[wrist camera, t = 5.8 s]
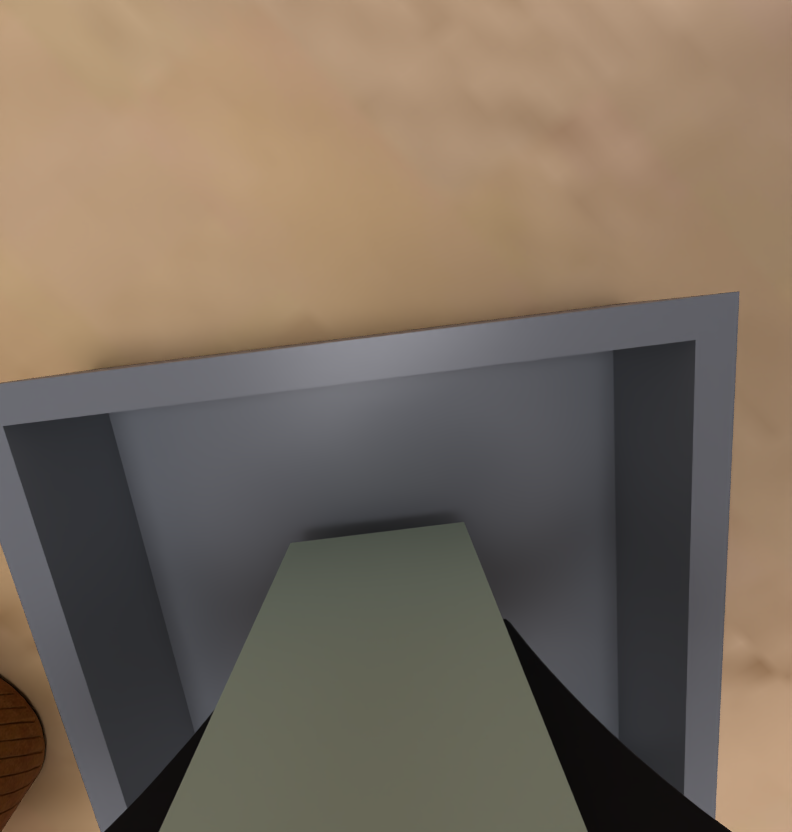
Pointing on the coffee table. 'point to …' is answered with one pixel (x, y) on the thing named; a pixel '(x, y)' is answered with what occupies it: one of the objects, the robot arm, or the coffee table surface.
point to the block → (377, 703)
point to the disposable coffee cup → (17, 750)
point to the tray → (384, 513)
